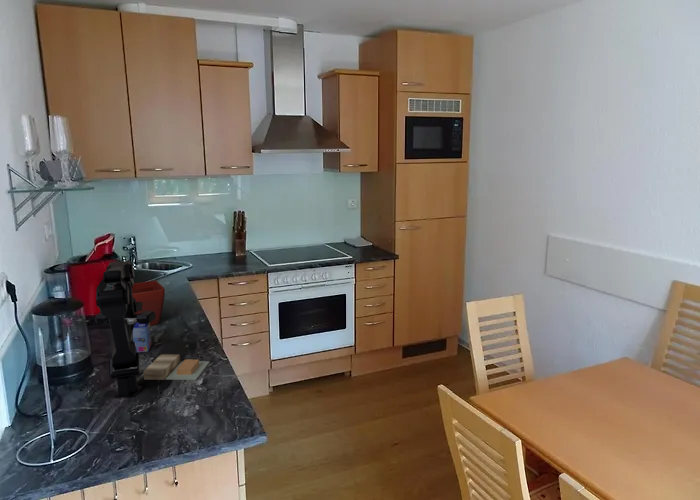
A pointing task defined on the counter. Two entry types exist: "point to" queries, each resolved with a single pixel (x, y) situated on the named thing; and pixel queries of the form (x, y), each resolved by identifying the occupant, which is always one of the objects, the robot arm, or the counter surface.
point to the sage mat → (194, 375)
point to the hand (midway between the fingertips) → (128, 340)
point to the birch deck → (162, 367)
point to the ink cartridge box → (142, 337)
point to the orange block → (187, 367)
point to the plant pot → (150, 298)
